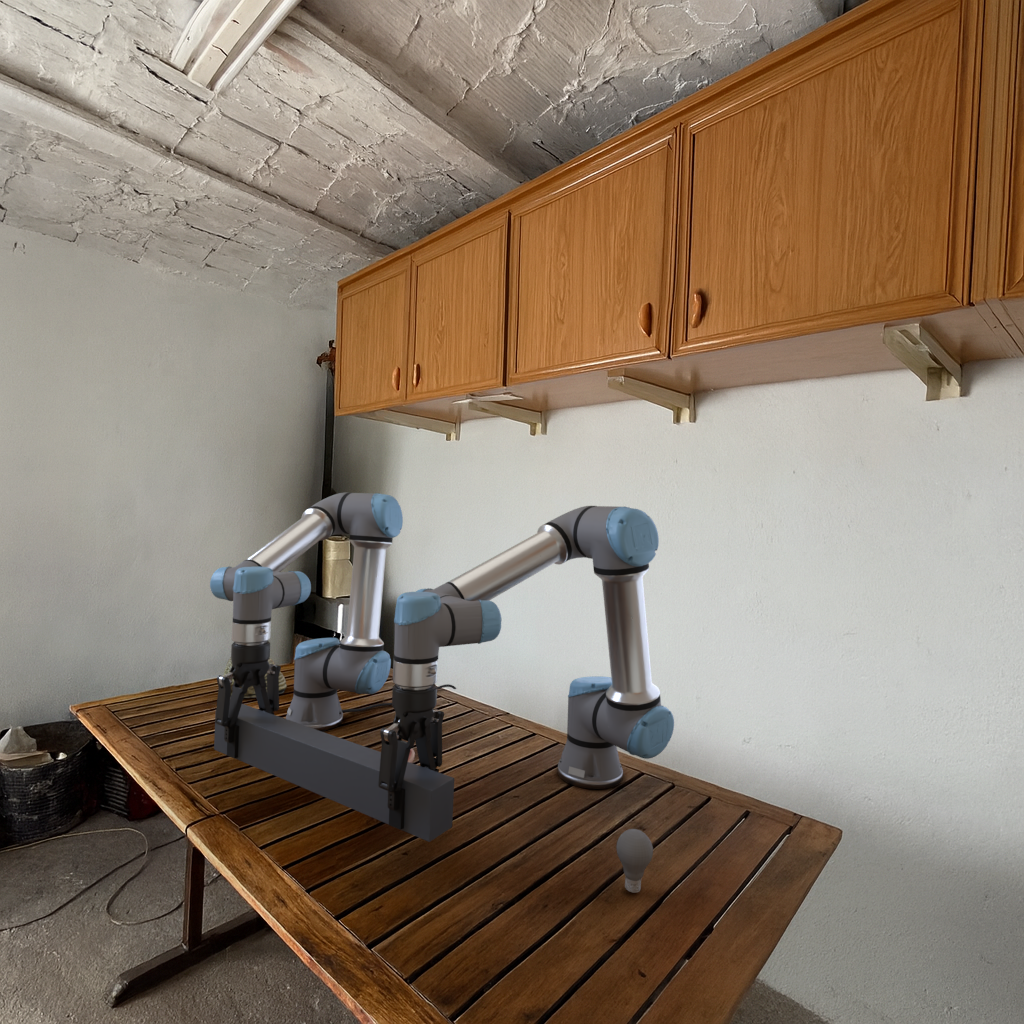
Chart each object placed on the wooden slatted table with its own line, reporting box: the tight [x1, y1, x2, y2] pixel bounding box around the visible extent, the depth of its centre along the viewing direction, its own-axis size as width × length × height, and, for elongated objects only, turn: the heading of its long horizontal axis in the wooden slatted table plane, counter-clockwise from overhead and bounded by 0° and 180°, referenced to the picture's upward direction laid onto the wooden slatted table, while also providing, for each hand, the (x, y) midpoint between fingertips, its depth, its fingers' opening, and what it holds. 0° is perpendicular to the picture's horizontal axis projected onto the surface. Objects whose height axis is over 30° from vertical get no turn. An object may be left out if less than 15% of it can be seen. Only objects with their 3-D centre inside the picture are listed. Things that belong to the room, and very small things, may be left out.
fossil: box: [222, 656, 288, 699], centre depth 198 cm, size 9×18×15 cm, turn 132°
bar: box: [213, 703, 455, 843], centre depth 120 cm, size 59×6×8 cm, turn 57°
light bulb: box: [615, 828, 654, 894], centre depth 106 cm, size 6×6×10 cm
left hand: (246, 751), depth 132 cm, fingers closed on bar, 6 cm apart
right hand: (410, 818), depth 108 cm, fingers closed on bar, 6 cm apart
